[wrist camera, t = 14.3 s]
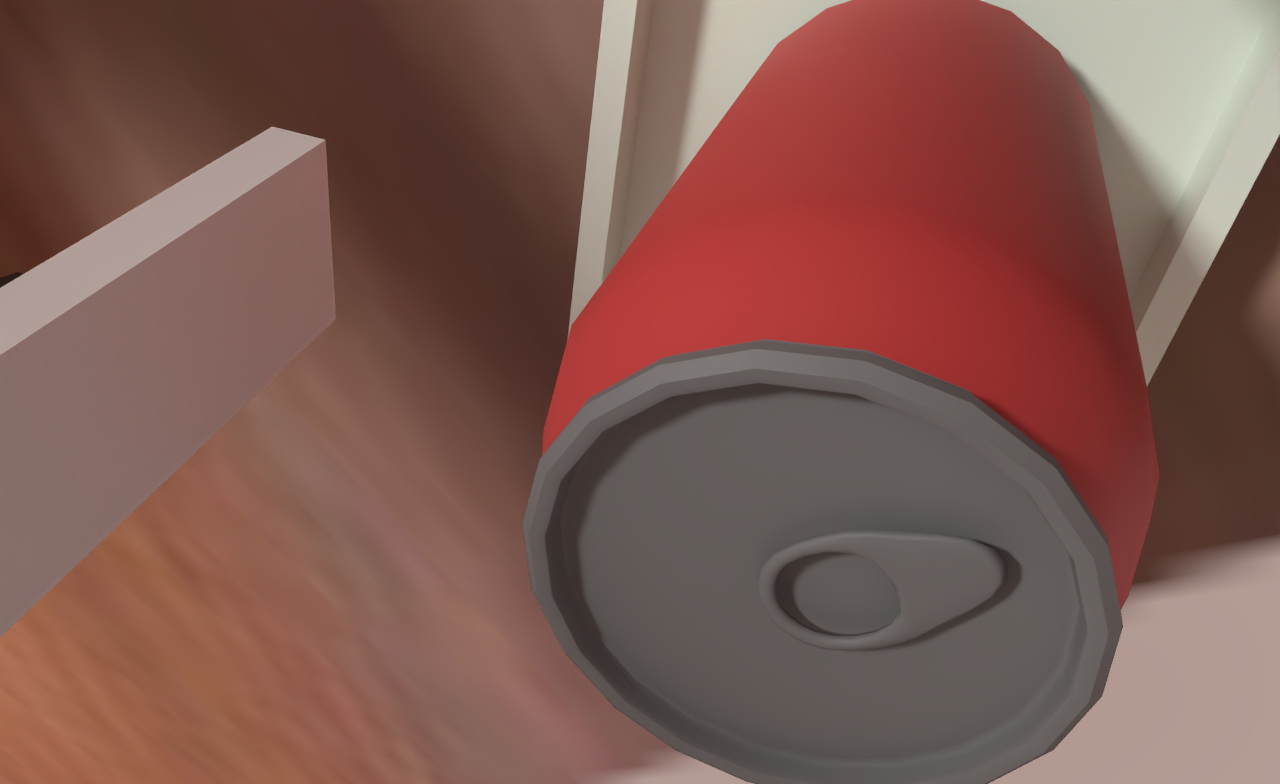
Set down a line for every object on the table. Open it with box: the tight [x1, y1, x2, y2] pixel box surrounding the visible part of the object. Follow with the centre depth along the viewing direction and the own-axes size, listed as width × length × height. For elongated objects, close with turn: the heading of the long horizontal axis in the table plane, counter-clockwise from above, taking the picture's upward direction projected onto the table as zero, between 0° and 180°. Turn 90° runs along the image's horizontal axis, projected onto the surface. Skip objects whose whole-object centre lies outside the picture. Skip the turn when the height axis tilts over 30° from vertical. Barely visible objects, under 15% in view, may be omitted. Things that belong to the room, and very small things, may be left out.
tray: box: [568, 0, 1280, 386], centre depth 19 cm, size 11×11×2 cm
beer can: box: [522, 0, 1160, 784], centre depth 14 cm, size 7×7×12 cm
